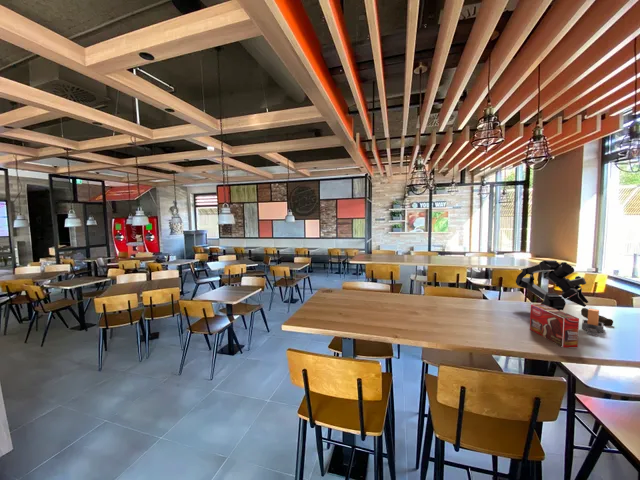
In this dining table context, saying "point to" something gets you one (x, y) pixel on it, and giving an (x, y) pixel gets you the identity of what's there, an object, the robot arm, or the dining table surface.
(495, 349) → the dining table surface
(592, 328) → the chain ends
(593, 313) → the orange rectangular block
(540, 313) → the ice cream box
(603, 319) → the hand tool
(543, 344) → the dining table surface
